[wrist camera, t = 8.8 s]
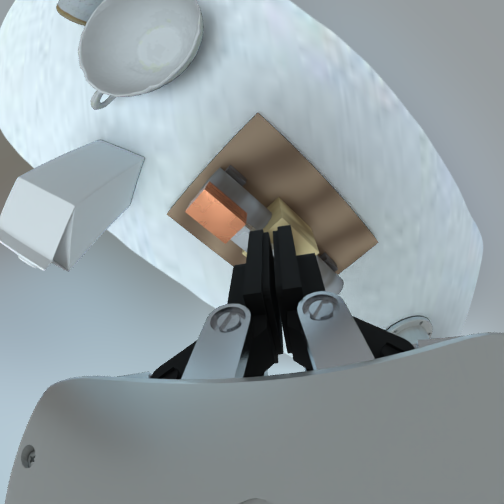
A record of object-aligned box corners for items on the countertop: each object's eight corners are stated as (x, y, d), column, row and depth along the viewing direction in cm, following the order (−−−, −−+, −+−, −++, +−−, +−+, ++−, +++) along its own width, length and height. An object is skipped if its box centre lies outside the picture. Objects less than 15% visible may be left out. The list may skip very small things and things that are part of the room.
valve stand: (374, 236, 34) (398, 273, 27) (289, 302, 41) (294, 346, 34) (257, 112, 27) (257, 117, 20) (170, 209, 33) (146, 243, 26)
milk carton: (100, 138, 28) (-14, 195, 12) (145, 157, 30) (44, 231, 14) (88, 186, 32) (-7, 264, 15) (130, 206, 33) (46, 301, 17)
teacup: (160, -14, 18) (134, -37, 11) (240, 34, 22) (233, 13, 15) (86, 81, 24) (46, 84, 17) (154, 132, 28) (123, 144, 21)
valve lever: (302, 260, 27) (305, 273, 25) (281, 276, 28) (282, 290, 26) (210, 180, 23) (205, 188, 21) (190, 202, 24) (184, 212, 22)
